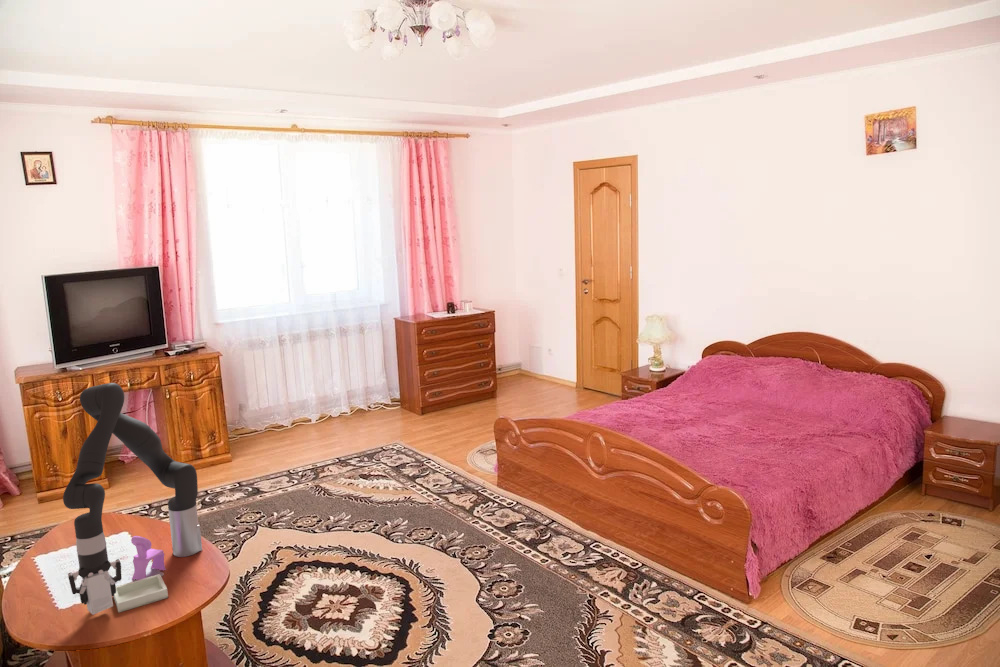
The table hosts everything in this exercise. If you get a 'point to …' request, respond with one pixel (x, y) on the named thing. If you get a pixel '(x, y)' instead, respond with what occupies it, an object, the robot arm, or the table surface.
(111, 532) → the table surface
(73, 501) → the robot arm
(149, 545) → the toy chair
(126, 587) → the tray
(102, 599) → the skincare box
